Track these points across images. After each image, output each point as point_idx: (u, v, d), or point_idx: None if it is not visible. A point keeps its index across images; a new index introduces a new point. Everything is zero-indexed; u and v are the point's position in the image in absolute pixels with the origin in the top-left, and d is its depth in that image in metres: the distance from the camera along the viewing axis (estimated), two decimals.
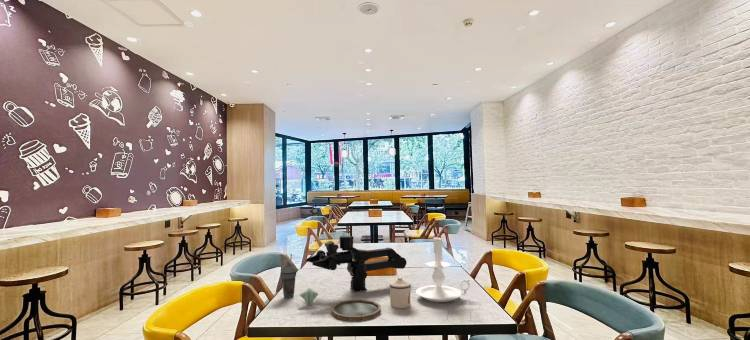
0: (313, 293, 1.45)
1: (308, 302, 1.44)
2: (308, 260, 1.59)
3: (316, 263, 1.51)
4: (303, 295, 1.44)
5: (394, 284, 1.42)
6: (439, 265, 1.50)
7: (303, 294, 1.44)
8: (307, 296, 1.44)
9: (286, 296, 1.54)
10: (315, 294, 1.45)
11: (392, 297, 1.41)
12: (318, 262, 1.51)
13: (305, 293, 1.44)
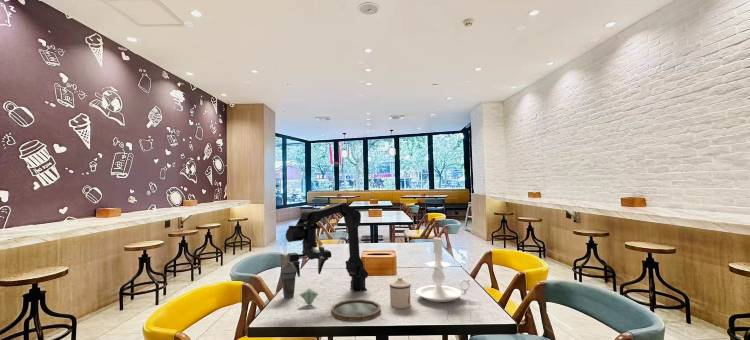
0: (313, 293, 1.45)
1: (308, 302, 1.44)
2: None
3: None
4: (303, 295, 1.44)
5: (394, 284, 1.42)
6: (439, 265, 1.50)
7: (303, 294, 1.44)
8: (307, 296, 1.44)
9: (286, 296, 1.54)
10: (315, 294, 1.45)
11: (392, 297, 1.41)
12: None
13: (305, 293, 1.44)
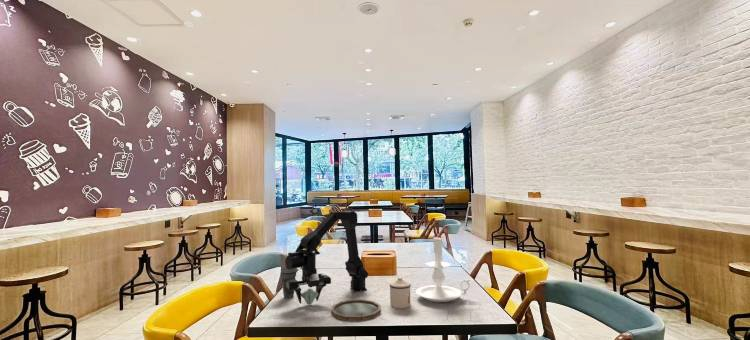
0: (313, 293, 1.45)
1: (308, 302, 1.44)
2: None
3: None
4: (303, 295, 1.44)
5: (394, 284, 1.42)
6: (439, 265, 1.50)
7: (303, 294, 1.44)
8: (307, 296, 1.44)
9: (286, 296, 1.54)
10: (315, 294, 1.45)
11: (392, 297, 1.41)
12: None
13: (305, 293, 1.44)
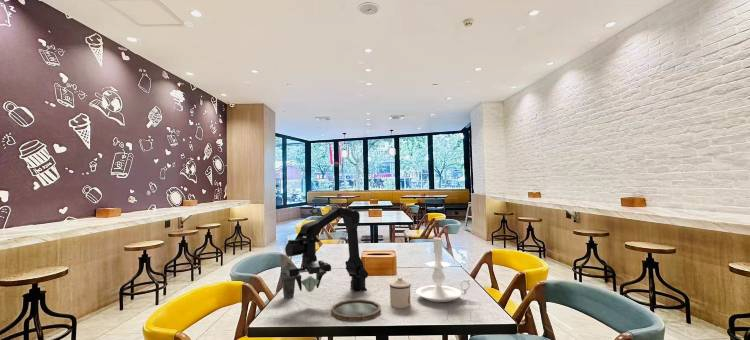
0: (314, 280, 1.45)
1: (309, 289, 1.45)
2: None
3: None
4: (304, 282, 1.44)
5: (394, 284, 1.42)
6: (439, 265, 1.50)
7: (304, 281, 1.45)
8: (308, 283, 1.44)
9: (286, 296, 1.54)
10: (316, 281, 1.45)
11: (392, 297, 1.41)
12: None
13: (306, 280, 1.45)
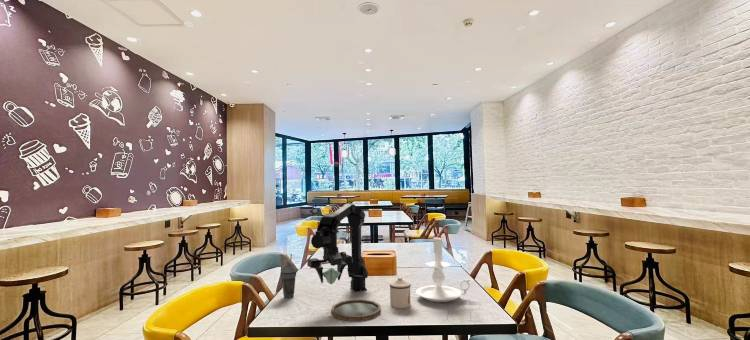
0: (335, 272, 1.41)
1: (330, 281, 1.41)
2: None
3: None
4: (325, 274, 1.41)
5: (394, 284, 1.42)
6: (439, 265, 1.50)
7: (325, 273, 1.41)
8: (329, 275, 1.40)
9: (286, 296, 1.54)
10: (337, 273, 1.41)
11: (392, 297, 1.41)
12: None
13: (327, 272, 1.41)
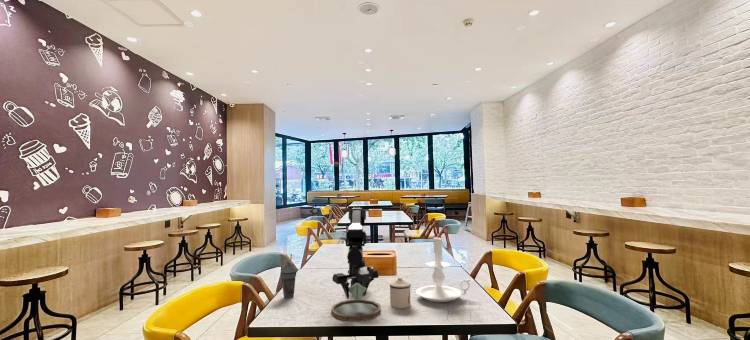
0: (361, 288, 1.36)
1: (356, 297, 1.36)
2: None
3: None
4: (351, 289, 1.36)
5: (394, 284, 1.42)
6: (439, 265, 1.50)
7: (351, 288, 1.36)
8: (355, 291, 1.36)
9: (286, 296, 1.54)
10: (363, 289, 1.36)
11: (392, 297, 1.41)
12: None
13: (353, 287, 1.36)
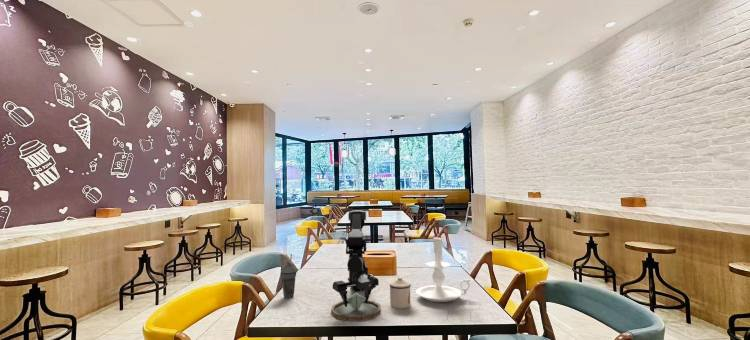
0: (361, 297, 1.36)
1: (355, 307, 1.35)
2: None
3: None
4: (350, 300, 1.35)
5: (394, 284, 1.42)
6: (439, 265, 1.50)
7: (350, 299, 1.35)
8: (355, 301, 1.35)
9: (286, 296, 1.54)
10: (363, 299, 1.36)
11: (392, 297, 1.41)
12: None
13: (352, 297, 1.36)
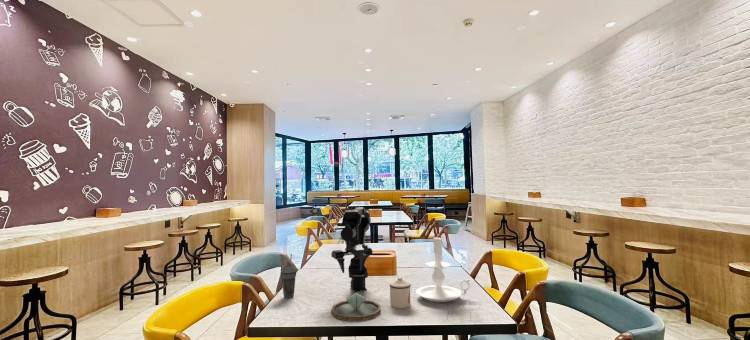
0: (361, 298, 1.36)
1: (355, 307, 1.35)
2: None
3: None
4: (350, 300, 1.35)
5: (394, 284, 1.42)
6: (439, 265, 1.50)
7: (350, 299, 1.35)
8: (355, 301, 1.35)
9: (286, 296, 1.54)
10: (363, 299, 1.36)
11: (392, 297, 1.41)
12: None
13: (352, 298, 1.36)
